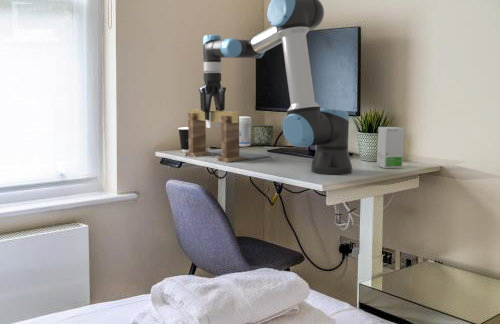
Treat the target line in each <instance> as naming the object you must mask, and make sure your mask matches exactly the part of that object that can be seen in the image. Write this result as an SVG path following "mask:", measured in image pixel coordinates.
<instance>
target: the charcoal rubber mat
mask: <svg viewBox="0 0 500 324" xmlns="http://www.w3.org/2000/svg"><path fill="white" fill-rule="evenodd" d="M207 151H209V155H216V156H222V149H221V148H216V149H209V150H207ZM239 156H243V160H249V161H253V160H259V159H260V160H261V159H264V158H265V159H266V158H271V155H270V154H269V155H268V154H261V153H254V152H249V151H248V152H247V151H240V150H239Z"/></svg>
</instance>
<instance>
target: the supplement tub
mask: <svg viewBox="0 0 500 324" xmlns="http://www.w3.org/2000/svg"><path fill="white" fill-rule="evenodd" d="M251 139H252V117H251V116H244V115H243V116H240V115H239V147H241V148H242V147H243V148H244V147H245V148H246V147H250V146H251V144H252V142H251V141H252V140H251Z"/></svg>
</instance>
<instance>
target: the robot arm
mask: <svg viewBox="0 0 500 324" xmlns="http://www.w3.org/2000/svg"><path fill="white" fill-rule="evenodd" d="M266 13H267V15H266V16H267V20H268V21H267V22H268V23H269V24H270V25H271V27H268V28H267V29H265V30H264V31H261V32H260V33H257V34H256V35H255V36H253V37H251V38H249V39H237V38H232V37H231V38H223V39H222V36H221V35H219V34H205V35H204V36H203V40H202V42H203V43H202V53H203V54H202V55H203V59H202V60H203V82H204V84H203V86H202V87H199V88H198V90H199V91H198V92H199V97H200V99H199V100H200V109H201V111H203V112H205V120H206V121H205V123H206V128H208V129H211V128H213V127H212V126H213V125H212V124H213V123H212V121H211V112H210V110H211V104H212V100H213V102H214V106H215V110H218V111H225V110H226V109H225V108H226V107H225V106H226V104H225V103H226V101H225V98H226V91H227V87H225V86H224V87H223V86H222V84H221V82H222V73H221V72H222V59H223V58H225V59H227V58H229V59H232V58H234V59H262V57H263V56H264V55H265V53H266V52H267V51H268V50H270V49H273V48H275V47H276V46H278V45H280V44H281V45H282V51H283V57H284V64H285V65H284V66H285V74H286V80H287V81H286V82H287V86H288V94H289V100H290V101H289V102H290V107H289V108H288V109H287V116H286V117H285V118H284V120H283V121H284V122H283V123H282V133H283V136H284V138H285V140H286V141H287V142H288V143H289V144H290V145H292V146H293V147H297V148H308V147H313V146H315V153H314V156H313V159H312V161H311V162H312V163H311V166H310V167H311V168H310V169H311V170H310V172H313V173H316V174H321V175H347V174H351V173H352V172H353V164H352V161H351V157H350V154H349V125H350V121H349V113H348V111H346V110H342V109H334V108H333V109H332V108H323V107H322V108H321V107H320V106H321V105H319V104H318V103H317V102H316V100H315V92H314V84H313V78H312V71H311V69H312V68H311V63H310V56H309V48H308V41H307V34H308V33H309V32H311V31H312V30H315V29H316V28H318V27H319V26H320V25H321V23H322V21H323V20H324V16H325V10H324V5H323V4H322V2H321V1H320V0H271V1H270V3H269V4H268V8H267V12H266ZM214 127H215V128H216V127H217V128H221V122H214Z"/></svg>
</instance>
